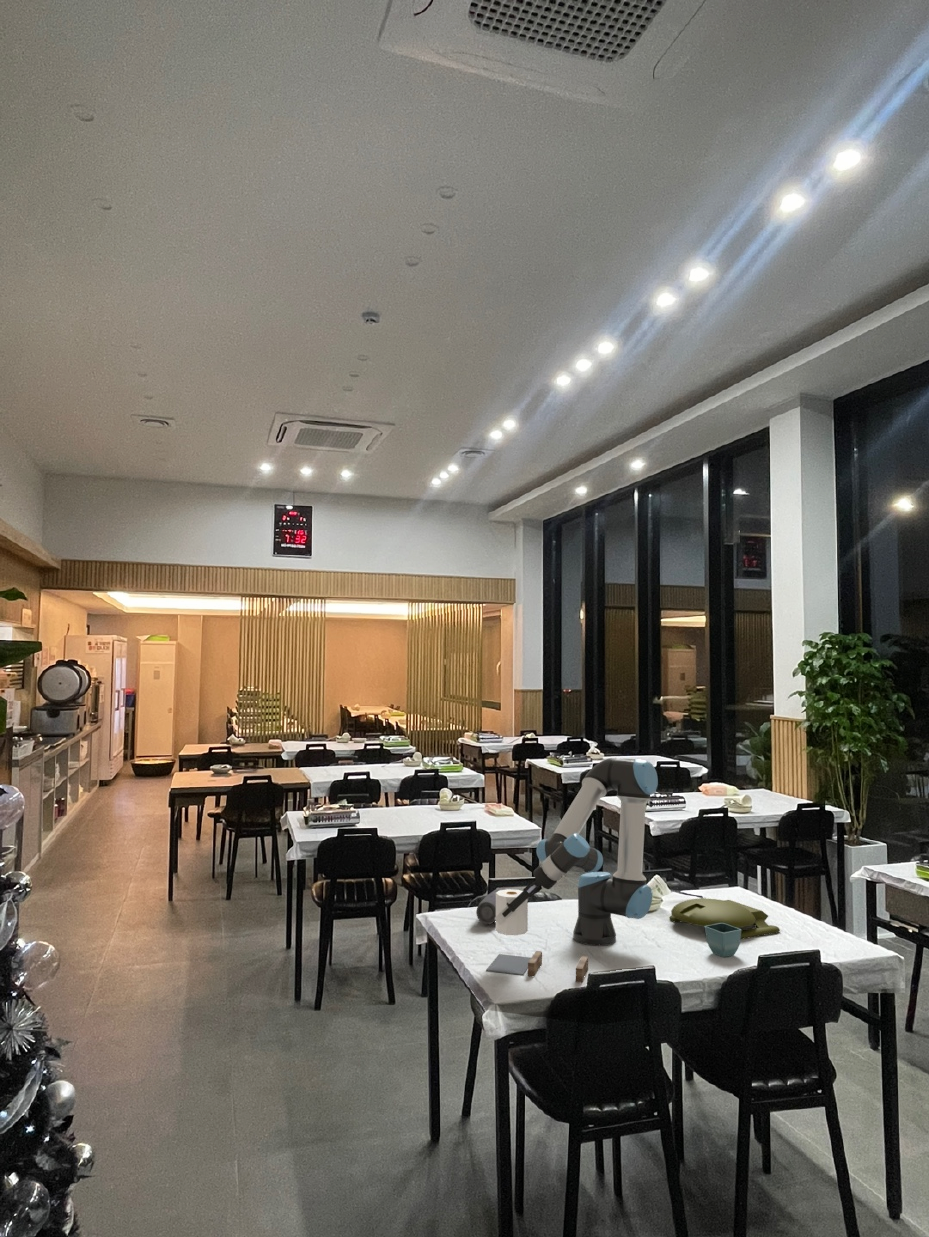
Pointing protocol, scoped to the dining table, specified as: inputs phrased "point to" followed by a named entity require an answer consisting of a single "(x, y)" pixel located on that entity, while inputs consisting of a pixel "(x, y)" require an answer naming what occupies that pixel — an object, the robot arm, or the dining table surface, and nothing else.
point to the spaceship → (723, 915)
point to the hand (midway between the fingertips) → (503, 916)
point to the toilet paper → (518, 918)
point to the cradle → (537, 962)
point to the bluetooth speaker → (488, 908)
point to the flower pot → (723, 939)
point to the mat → (509, 964)
